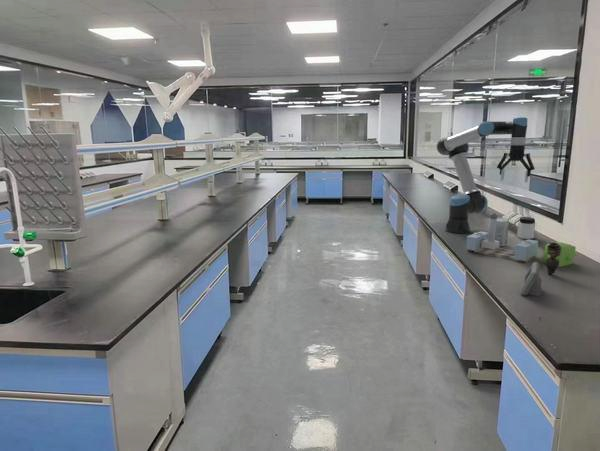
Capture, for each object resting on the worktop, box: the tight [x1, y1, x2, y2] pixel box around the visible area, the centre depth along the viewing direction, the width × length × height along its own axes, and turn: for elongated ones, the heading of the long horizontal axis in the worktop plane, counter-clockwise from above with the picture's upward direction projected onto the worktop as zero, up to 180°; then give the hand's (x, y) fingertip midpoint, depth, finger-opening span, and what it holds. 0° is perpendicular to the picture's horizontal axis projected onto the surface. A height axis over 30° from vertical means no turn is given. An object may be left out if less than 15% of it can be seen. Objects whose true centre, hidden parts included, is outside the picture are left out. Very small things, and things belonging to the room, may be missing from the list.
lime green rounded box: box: [542, 241, 578, 268], centre depth 198 cm, size 18×10×10 cm, turn 115°
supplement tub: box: [495, 217, 510, 247], centre depth 233 cm, size 10×10×15 cm
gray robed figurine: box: [519, 261, 542, 297], centre depth 165 cm, size 16×9×11 cm, turn 137°
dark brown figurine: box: [545, 242, 562, 276], centre depth 183 cm, size 6×6×15 cm
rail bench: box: [467, 247, 536, 264], centre depth 216 cm, size 30×12×2 cm, turn 42°
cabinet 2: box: [514, 239, 539, 261], centre depth 206 cm, size 5×16×8 cm, turn 132°
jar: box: [516, 216, 536, 240], centre depth 248 cm, size 9×8×12 cm
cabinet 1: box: [465, 231, 488, 250], centre depth 224 cm, size 5×16×8 cm, turn 132°
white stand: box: [481, 212, 500, 250], centre depth 218 cm, size 7×6×19 cm
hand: (513, 181), depth 241 cm, fingers open, 13 cm apart
